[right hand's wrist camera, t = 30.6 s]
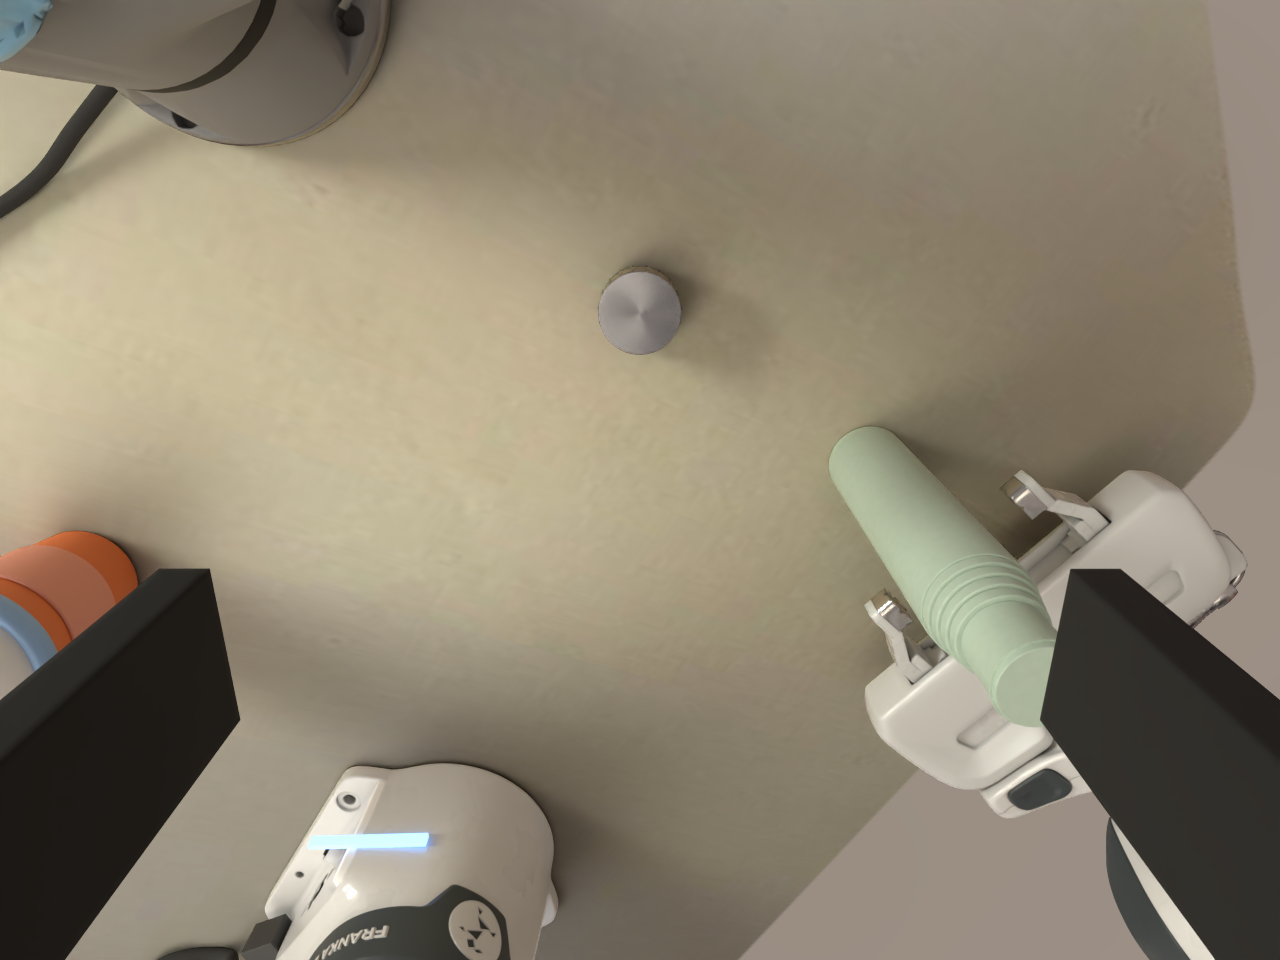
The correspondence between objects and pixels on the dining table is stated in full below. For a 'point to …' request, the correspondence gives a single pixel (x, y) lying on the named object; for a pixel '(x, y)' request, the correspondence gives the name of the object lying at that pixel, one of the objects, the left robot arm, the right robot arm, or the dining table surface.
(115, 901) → the dining table surface
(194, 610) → the right robot arm
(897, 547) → the bottle
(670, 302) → the cap
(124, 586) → the cup with straw
